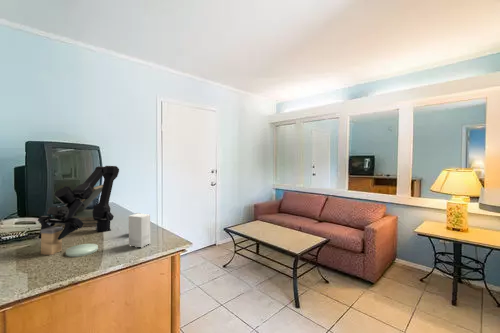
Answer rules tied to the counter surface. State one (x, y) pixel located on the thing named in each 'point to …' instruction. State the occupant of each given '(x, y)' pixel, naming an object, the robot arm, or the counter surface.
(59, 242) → the grey cushioned footstool
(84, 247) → the sage green coaster
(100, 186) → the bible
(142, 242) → the skincare box
